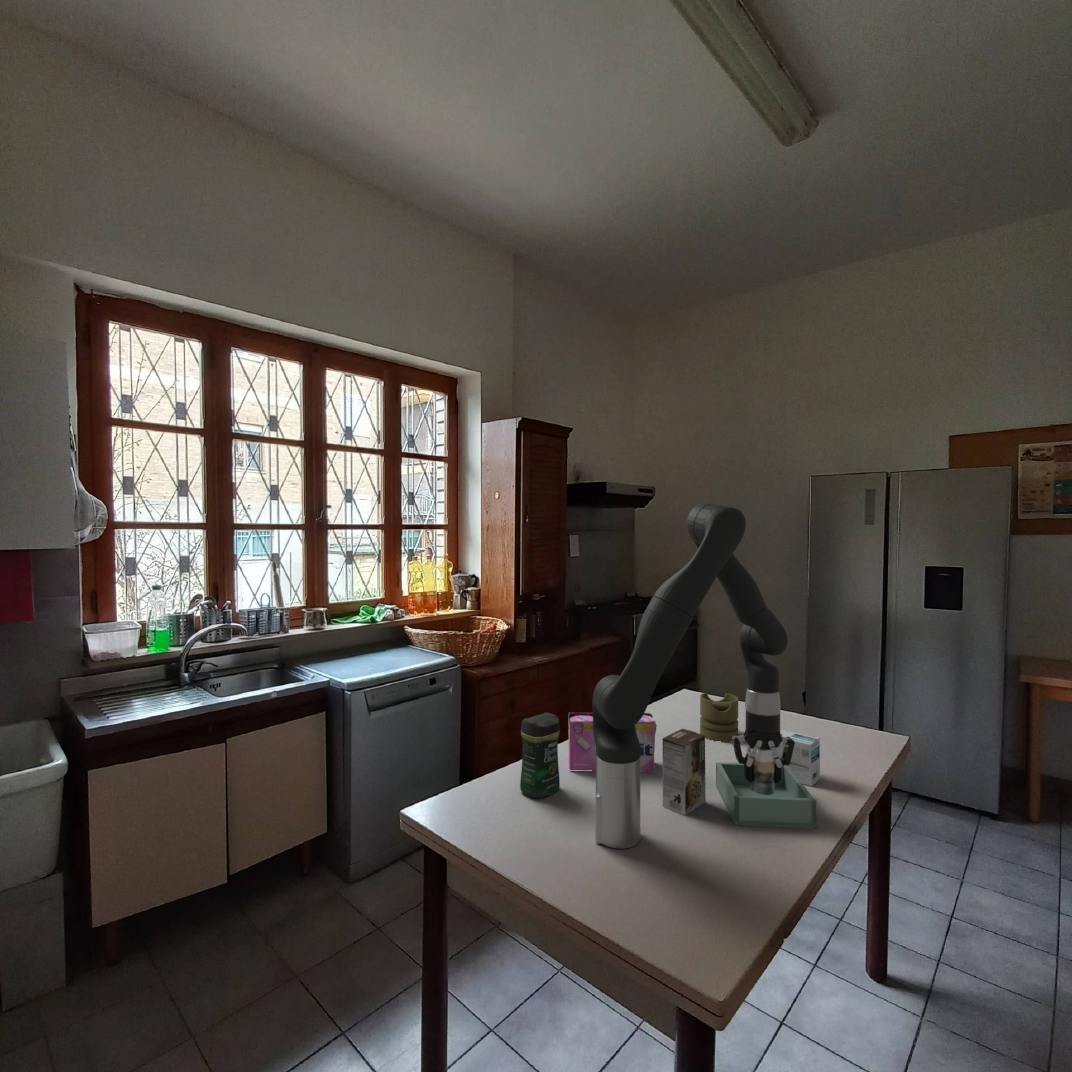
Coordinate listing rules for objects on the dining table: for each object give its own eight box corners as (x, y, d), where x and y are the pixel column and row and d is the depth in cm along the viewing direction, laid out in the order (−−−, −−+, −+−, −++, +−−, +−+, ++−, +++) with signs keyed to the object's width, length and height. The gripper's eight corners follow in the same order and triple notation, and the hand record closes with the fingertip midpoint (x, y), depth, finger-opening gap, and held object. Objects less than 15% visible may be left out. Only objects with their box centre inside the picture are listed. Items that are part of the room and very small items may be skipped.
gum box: (654, 761, 161) (654, 712, 161) (659, 773, 153) (659, 722, 153) (568, 760, 162) (568, 711, 162) (569, 772, 154) (569, 721, 154)
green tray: (734, 824, 127) (734, 797, 126) (716, 786, 145) (716, 762, 145) (815, 828, 125) (816, 800, 125) (786, 788, 144) (786, 764, 144)
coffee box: (682, 793, 141) (682, 727, 141) (706, 802, 137) (706, 734, 137) (661, 806, 135) (661, 737, 135) (685, 816, 130) (685, 744, 130)
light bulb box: (820, 779, 150) (821, 737, 150) (812, 787, 145) (812, 744, 145) (778, 767, 157) (778, 727, 157) (769, 775, 152) (769, 734, 152)
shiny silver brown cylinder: (753, 794, 133) (753, 750, 132) (747, 784, 138) (747, 742, 138) (778, 795, 132) (778, 751, 132) (770, 785, 137) (771, 743, 137)
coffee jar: (537, 802, 137) (537, 724, 137) (515, 791, 143) (514, 716, 142) (565, 789, 144) (565, 715, 143) (543, 779, 149) (543, 707, 149)
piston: (741, 703, 174) (703, 701, 176) (741, 743, 175) (702, 741, 176) (734, 692, 186) (697, 691, 187) (734, 730, 186) (697, 728, 187)
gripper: (734, 713, 132) (734, 787, 132) (800, 714, 130) (800, 790, 131) (727, 703, 139) (727, 773, 139) (789, 704, 138) (789, 775, 138)
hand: (762, 781), depth 135 cm, fingers closed on shiny silver brown cylinder, 5 cm apart
